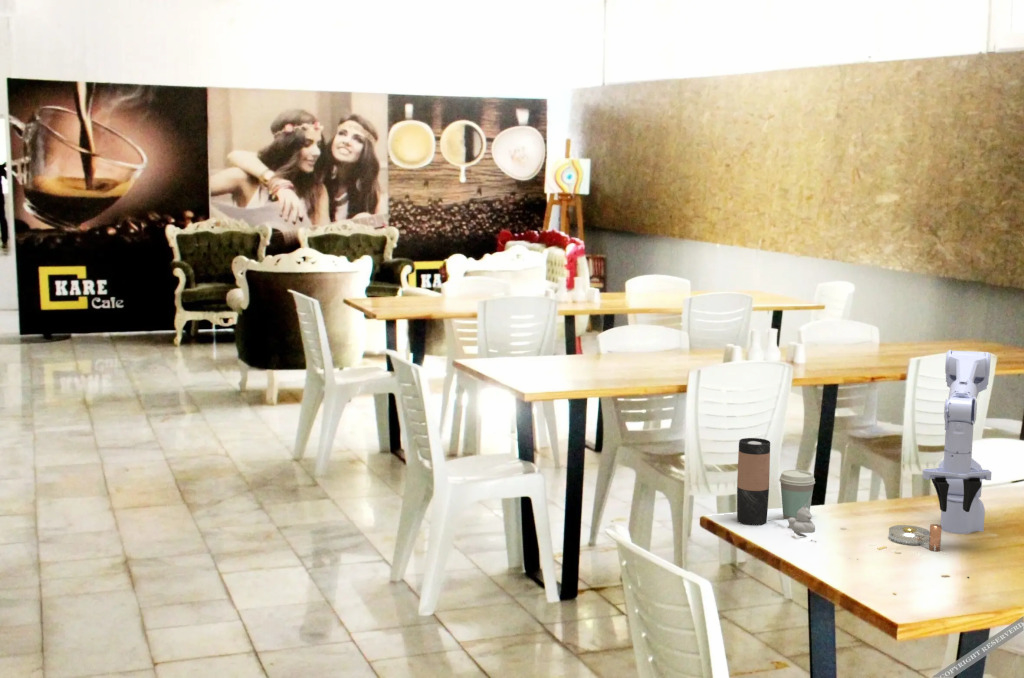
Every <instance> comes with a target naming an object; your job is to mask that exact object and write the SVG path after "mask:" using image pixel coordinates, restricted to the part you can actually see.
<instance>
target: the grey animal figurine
mask: <svg viewBox="0 0 1024 678" xmlns="http://www.w3.org/2000/svg"><path fill="white" fill-rule="evenodd" d="M810 511H811V510H810ZM810 511H809V509H808V508H807V507H806V504H805V505H804V507H802V508H801V509H799V510H798V512H797V514H796V516H797V519H796V518H793V517H791V518H789V519H787V521H788V529H792V531H793V533H794V534H796V536H798V537H802V538H803V537H804V538H806V537H808V536H807V535H806V533H807V534H808V533H810V534H812V533H814V532H815V531H816V526H815V524H814V521H812V518H813V514H812V513H811V512H810Z"/></svg>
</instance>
